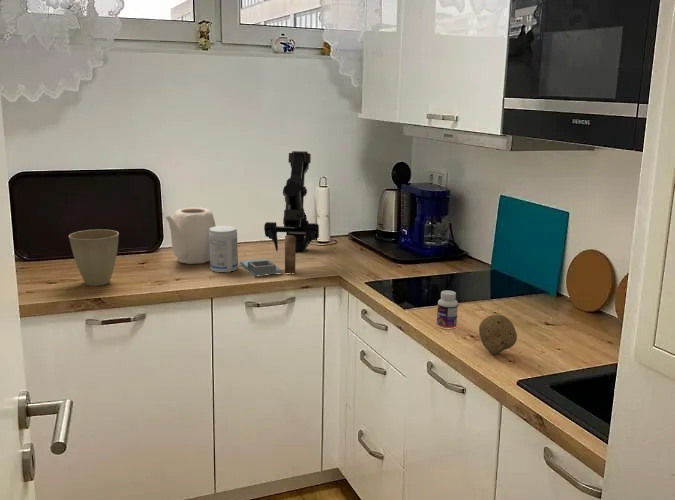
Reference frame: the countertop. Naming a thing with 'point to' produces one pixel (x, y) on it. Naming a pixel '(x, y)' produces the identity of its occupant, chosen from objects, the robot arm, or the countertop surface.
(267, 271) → the seat board
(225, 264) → the supplement tub
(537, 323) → the countertop surface
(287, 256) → the stool leg
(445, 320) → the pill bottle
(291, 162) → the robot arm
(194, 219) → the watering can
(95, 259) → the plant pot
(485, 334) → the natural sponge
